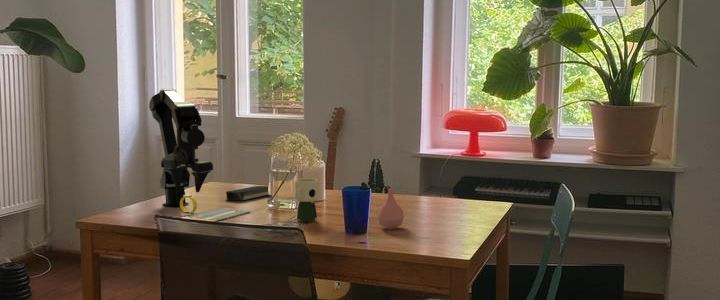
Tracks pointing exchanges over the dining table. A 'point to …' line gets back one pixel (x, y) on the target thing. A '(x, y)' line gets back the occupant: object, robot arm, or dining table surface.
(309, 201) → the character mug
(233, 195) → the black sponge
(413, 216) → the dining table surface
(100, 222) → the dining table surface
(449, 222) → the dining table surface
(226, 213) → the subfloor panel
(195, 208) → the watch
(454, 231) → the dining table surface
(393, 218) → the pink teardrop shape
